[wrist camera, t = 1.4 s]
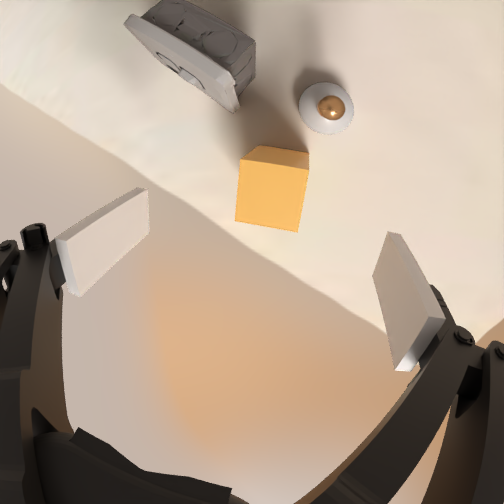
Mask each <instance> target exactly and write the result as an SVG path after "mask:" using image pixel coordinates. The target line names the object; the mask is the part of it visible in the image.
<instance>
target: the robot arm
mask: <svg viewBox="0 0 504 504" xmlns="http://www.w3.org/2000/svg"><path fill="white" fill-rule="evenodd" d="M149 233H150V229H149V210H148V189H144V188H135V189H134V190H132V191H130V192H128V193H126V194H125V195H123V196H121V197H119V198H118V199H116V200H114V201H112V202H111V203H109V204H107V205H105V206H104V207H102V208H100V209H99V210H97V211H95V212H94V213H92V214H91V215H89V216H87V217H86V218H84V219H83V220H81V221H79V222H78V223H76V224H75V225H73V226H72V227H70V228H69V229H67V230H66V231H64V232H63V233H61V234H60V235H58V236H57V237H55V239H54V240H52V241H51V242H49V239H48V235H47V231H46V225H45V224H43V223H35V224H32V225H29V226H27V227H25V228H24V229H22V231H21V232H20V234H21V238H22V242H23V246H24V250H19V249H18V245H17V242H16V241H15V240H6V241H4V242H2V243H1V244H0V504H249V503H247V502H245V501H244V500H242V499H241V498H239V497H236V496H234V495H232V494H231V490H232V488H229V487H224V486H220V485H216V484H212V483H209V482H205V481H202V480H198V479H195V478H191V477H186V476H177V475H169V474H161V473H155V472H148V471H144V470H142V469H140V468H138V467H137V466H136V465H135V464H133V463H132V462H130V461H129V460H128V459H127V458H126V457H124V456H123V455H122V454H120V453H119V452H118V451H117V450H116V449H114V448H113V447H112V446H111V445H110V444H108V443H106V442H104V441H102V440H100V439H98V438H96V437H95V436H93V435H91V434H89V433H88V432H86V431H84V430H82V429H81V428H79V427H78V429H77V430H76V432H75V434H74V431H73V429H72V427H71V425H70V423H69V420H68V416H67V410H66V403H65V393H64V382H63V369H62V368H63V367H62V303H63V302H62V301H63V290H62V287H61V286H62V285H63V284H64V283H65V282H66V284H67V287H68V290H69V293H71V294H74V295H76V296H79V297H81V296H82V295H83V294H84V293H85V292H86V291H87V290H88V289H89V288H90V287H91V286H92V285H93V284H94V283H95V282H96V281H97V280H98V279H100V278H101V277H102V276H103V275H104V274H105V273H106V272H107V271H108V270H109V269H110V268H111V267H112V266H113V265H114V264H115V263H117V262H118V260H120V259H121V258H122V257H123V256H124V255H125V254H126V253H127V252H128V251H130V250H131V249H132V248H133V247H134V246H135V245H136V244H137V243H138V242H140V241H141V240H142V239H143V238H144V237H145V236H147V235H148V234H149ZM3 277H4V280H5V282H6V285H7V289H6V291H5V290H4V288H3V285H2V280H3ZM372 277H373V280H374V284H375V287H376V291H377V294H378V298H379V302H380V306H381V310H382V314H383V318H384V322H385V326H386V330H387V335H388V339H389V344H390V349H391V354H392V359H393V364H394V369H395V370H399V371H412V369H413V368H414V367H415V365H416V364H417V362H418V361H419V365H420V368H421V369H420V370H419V372H418V373H417V374H416V376H415V377H414V378H413V380H412V381H411V382H410V383H409V384H408V386H407V389H406V390H405V391H404V393H403V394H402V395H401V397H400V398H399V399H398V401H397V402H396V403H395V405H394V406H393V407H392V408H391V410H390V411H389V412H388V413H387V415H386V416H385V417H384V418H383V420H382V421H381V422H380V423H379V425H378V426H377V427H376V428H375V429H374V430H373V431H372V432H371V434H370V435H369V436H368V437H367V438H366V439H365V440H364V441H363V442H362V443H361V444H360V445H359V446H358V448H357V449H356V450H355V451H354V452H353V453H352V454H351V455H350V456H349V457H348V458H347V459H346V460H345V461H344V462H343V463H342V464H341V465H340V466H339V467H337V468H336V469H335V470H334V471H333V472H332V473H331V474H330V475H329V476H328V477H326V478H325V479H324V480H323V481H322V482H321V483H320V484H318V485H317V486H316V487H315V488H314V489H313V490H311V491H310V492H309V493H308V494H306V495H305V496H304V497H302V498H301V499H300V500H298V501H297V502H296V503H294V504H388V503H389V501H390V500H391V499H392V498H393V496H394V495H395V494H396V493H397V491H398V490H399V489H400V487H401V486H402V485H403V483H404V482H405V481H406V480H407V478H408V477H409V475H410V474H411V473H412V471H413V470H414V468H415V467H416V465H417V464H418V462H419V461H420V459H421V457H422V456H423V455H424V453H425V451H426V450H427V448H428V447H429V445H430V443H431V442H432V440H433V438H434V436H435V435H436V433H437V431H438V429H439V428H440V426H441V424H442V422H443V420H444V418H445V416H446V414H447V412H448V410H449V408H450V406H451V409H450V414H449V419H448V423H447V428H446V432H445V436H444V439H443V443H442V447H441V450H440V454H439V457H438V460H437V463H436V466H435V469H434V472H433V475H432V478H431V481H430V483H429V486H428V488H427V491H426V494H425V496H424V498H423V501H422V503H421V504H503V503H504V344H502V343H501V342H498V341H492V342H491V343H490V344H489V346H488V347H487V348H486V349H484V348H481V347H479V346H476V345H475V340H474V338H473V336H472V335H471V333H470V332H469V331H467V330H466V329H465V328H463V327H461V326H457V325H456V324H455V321H454V319H453V317H452V315H451V313H450V311H449V309H448V308H447V305H446V303H445V302H444V299H443V297H442V295H441V294H440V292H439V291H438V290H437V289H436V288H435V287H434V286H433V285H430V284H429V283H428V281H427V279H426V278H425V276H424V274H423V272H422V270H421V268H420V267H419V265H418V263H417V261H416V260H415V258H414V256H413V254H412V253H411V251H410V249H409V248H408V246H407V244H406V242H405V241H404V239H403V238H402V236H401V234H397V233H393V232H387V235H386V238H385V241H384V244H383V247H382V250H381V253H380V256H379V259H378V262H377V264H376V267H375V270H374V273H373V275H372ZM229 497H230V498H229Z"/></svg>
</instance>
